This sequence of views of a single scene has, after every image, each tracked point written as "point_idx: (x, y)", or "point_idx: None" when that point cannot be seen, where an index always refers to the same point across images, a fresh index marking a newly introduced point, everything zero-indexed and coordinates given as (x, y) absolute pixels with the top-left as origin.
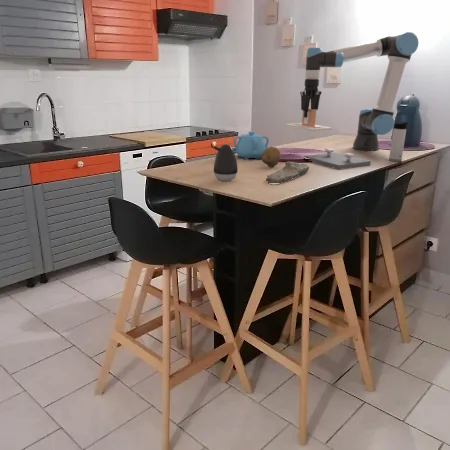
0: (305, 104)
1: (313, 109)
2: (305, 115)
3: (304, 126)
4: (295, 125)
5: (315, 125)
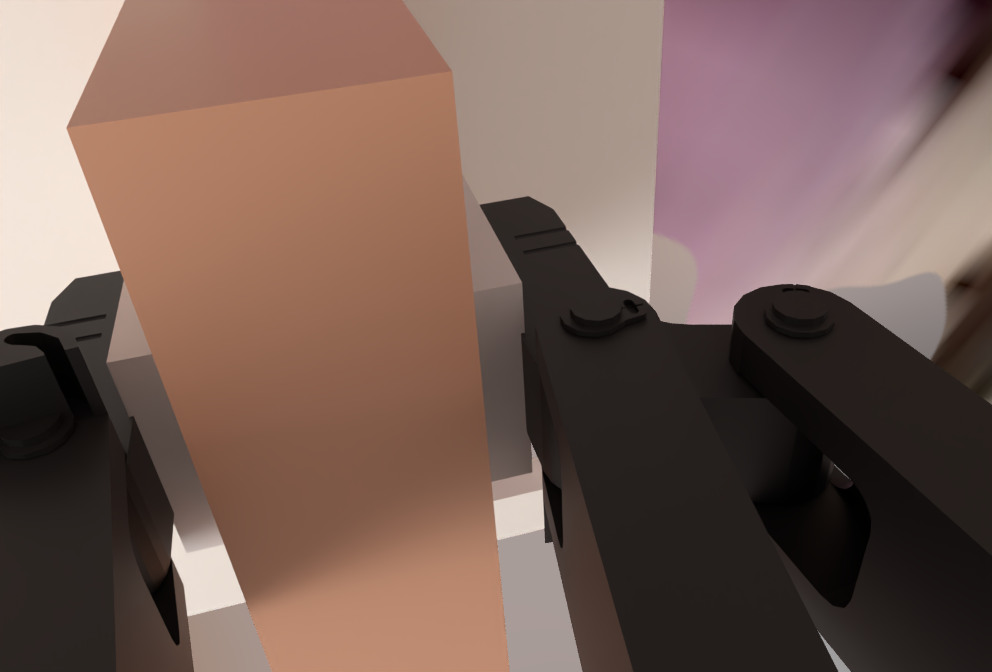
0: (974, 508)
1: (269, 241)
2: (566, 231)
3: (518, 22)
4: (615, 263)
5: (22, 141)
